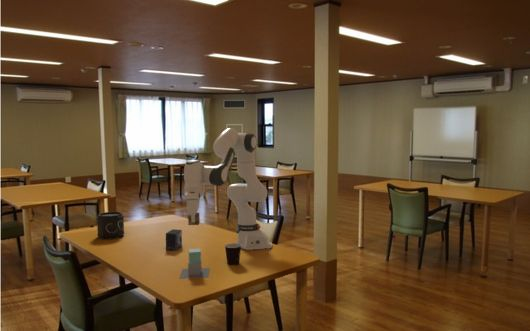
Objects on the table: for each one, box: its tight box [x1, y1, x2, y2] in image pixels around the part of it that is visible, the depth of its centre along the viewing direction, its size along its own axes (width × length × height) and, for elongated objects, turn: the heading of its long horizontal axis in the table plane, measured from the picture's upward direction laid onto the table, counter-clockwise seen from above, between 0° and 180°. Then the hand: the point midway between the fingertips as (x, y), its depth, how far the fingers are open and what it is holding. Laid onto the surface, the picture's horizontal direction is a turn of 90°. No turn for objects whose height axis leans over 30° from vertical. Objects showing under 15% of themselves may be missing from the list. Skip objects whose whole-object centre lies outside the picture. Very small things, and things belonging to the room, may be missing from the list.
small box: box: [165, 229, 183, 251], centre depth 245 cm, size 11×6×10 cm, turn 168°
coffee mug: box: [224, 242, 242, 266], centre depth 216 cm, size 12×9×10 cm
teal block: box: [188, 248, 202, 264], centre depth 200 cm, size 6×6×6 cm
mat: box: [178, 267, 211, 280], centre depth 200 cm, size 14×14×1 cm
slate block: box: [187, 261, 203, 275], centre depth 200 cm, size 6×6×6 cm
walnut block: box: [187, 212, 201, 226], centre depth 198 cm, size 5×5×5 cm
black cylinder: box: [96, 211, 125, 240], centre depth 274 cm, size 18×18×16 cm
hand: (194, 220), depth 198 cm, fingers closed on walnut block, 5 cm apart
